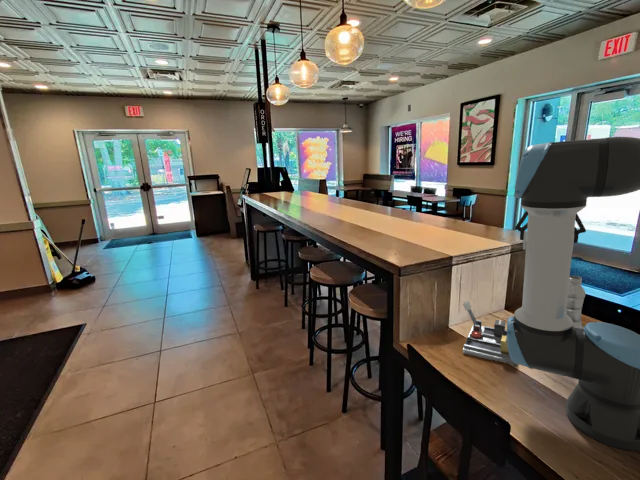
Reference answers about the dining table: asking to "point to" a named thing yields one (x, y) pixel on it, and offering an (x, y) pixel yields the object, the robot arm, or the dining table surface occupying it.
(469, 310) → the lever
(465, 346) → the panel
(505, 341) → the slider brass
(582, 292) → the plastic bottle
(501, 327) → the slider black
